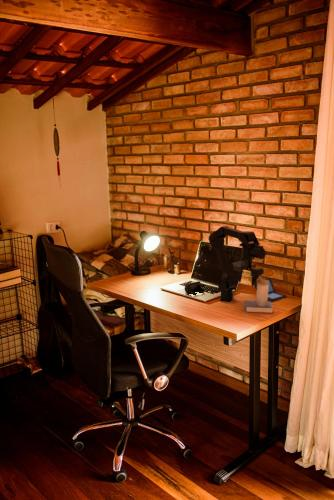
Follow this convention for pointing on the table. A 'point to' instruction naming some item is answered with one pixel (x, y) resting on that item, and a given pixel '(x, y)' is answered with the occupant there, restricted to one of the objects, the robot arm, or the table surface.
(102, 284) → the table surface
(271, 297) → the handheld game console
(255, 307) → the gray book
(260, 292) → the pen cup
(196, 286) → the end cap
